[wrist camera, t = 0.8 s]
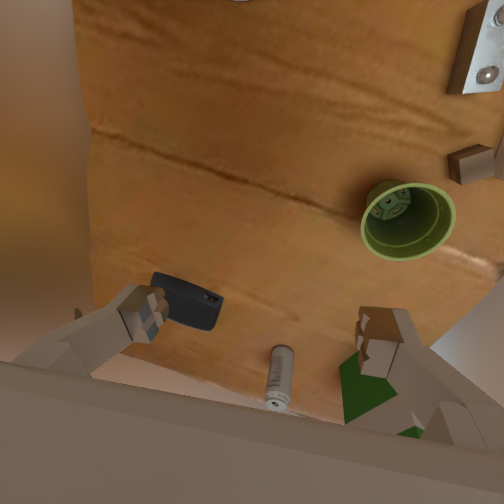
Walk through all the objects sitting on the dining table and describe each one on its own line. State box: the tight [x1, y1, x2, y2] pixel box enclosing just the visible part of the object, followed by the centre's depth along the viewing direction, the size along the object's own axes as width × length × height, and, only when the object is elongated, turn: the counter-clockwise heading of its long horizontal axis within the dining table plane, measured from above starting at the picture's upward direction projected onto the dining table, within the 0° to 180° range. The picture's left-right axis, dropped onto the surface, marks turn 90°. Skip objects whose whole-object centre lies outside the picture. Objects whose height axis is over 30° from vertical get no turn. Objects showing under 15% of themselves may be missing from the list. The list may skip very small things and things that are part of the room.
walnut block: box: [448, 144, 495, 185], centre depth 38 cm, size 4×4×4 cm
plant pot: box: [361, 180, 456, 261], centre depth 41 cm, size 12×12×11 cm
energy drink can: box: [265, 346, 294, 412], centre depth 65 cm, size 6×6×15 cm
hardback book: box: [340, 351, 425, 439], centre depth 55 cm, size 18×7×24 cm, turn 154°
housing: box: [446, 0, 504, 94], centre depth 31 cm, size 9×4×6 cm, turn 5°
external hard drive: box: [150, 272, 224, 331], centre depth 68 cm, size 13×19×4 cm
